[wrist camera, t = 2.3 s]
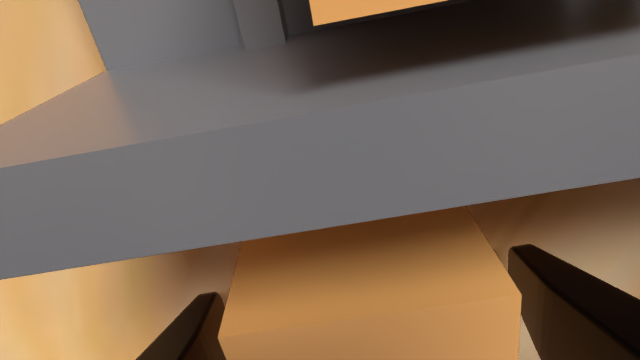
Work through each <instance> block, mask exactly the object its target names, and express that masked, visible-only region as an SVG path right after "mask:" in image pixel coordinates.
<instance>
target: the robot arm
mask: <svg viewBox="0 0 640 360" xmlns="http://www.w3.org/2000/svg"><path fill="white" fill-rule="evenodd" d="M508 274H509V276H510V277H511V279H512V280H513V282H514V283H515V285H516V287H517V288H518V290H519V291H520V293H521V295H522V300H521V316H522V318H523V320H524V323H525V325H526V327H527V330H528V332H529V334H530V337H531V339H532V341H533V344H534V346H535V348H536V350H537V352H538V355H539V357H540V359H541V360H640V299H638V298H636V297H634V296H632V295H630V294H628V293H626V292H624V291H622V290H620V289H618V288H616V287H614V286H612V285H610V284H608V283H606V282H604V281H602V280H601V279H599V278H597V277H595V276H593V275H591V274H589V273H587V272H585V271H583V270H581V269H579V268H577V267H575V266H573V265H571V264H569V263H567V262H565V261H563V260H561V259H559V258H557V257H555V256H553V255H552V254H550V253H548V252H546V251H544V250H542V249H540V248H538V247H536V246H534V245H531V244H526V245H519V246H513V247H511V248H510V250H509V254H508ZM224 310H225V306H224V304H223V301H222V298H221V296H220V295H219V293H217V292H211V293H204V294H200V295H198V296H197V297H196V298H195V299H194V300H193V301H192V302H191V303H190V304H189V305H188V306H187V307H186V308H185V309H184V310H183V311H182V312H181V313H180V314H179V316H178V317H177V318H176V319H175V320H174V321H173V322H172V323H171V324H170V325H169V326H168V327H167V328H166V329H165V330H164V331H163V332H162V333H161V334H160V335H159V336H158V337H157V338H156V339H155V340H154V341H153V342H152V343H151V344H150V345H149V347H148V348H147V349H146V350H145V351H144V352H143V353H142V354H141V355H140V356H139V357H138V358H137V359H136V360H226V357H225V355H224V352H223V350H222V347H221V345H220V342H219V340H218V334H219V330H220V326H221V322H222V318H223V314H224Z"/></svg>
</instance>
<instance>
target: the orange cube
mask: <svg viewBox="0 0 640 360" xmlns="http://www.w3.org/2000/svg"><path fill="white" fill-rule="evenodd" d="M521 300H522V295H521V293H520V291H519V290H518V288H517V287H516V285H515V283H514V282H513V280H512V279H511V277H510V276H509V274H508V272H507V271H506V269H505V268H504V266H503V264H502V263H501V261H500V260H499V258H498V257H497V255H496V253H495V252H494V250H493V249H492V247H491V245H490V244H489V242H488V241H487V239H486V238H485V236H484V234H483V233H482V231H481V230H480V228H479V226H478V225H477V223H476V222H475V220H474V219H473V217H472V215H471V214H470V212H469V211H468V209H467V207H466V206H460V207H453V208H447V209H441V210H435V211H428V212H422V213H416V214H410V215H403V216H397V217H391V218H384V219H378V220H372V221H366V222H359V223H353V224H347V225H340V226H334V227H328V228H322V229H315V230H309V231H303V232H297V233H290V234H284V235H278V236H271V237H265V238H259V239H253V240H246V241H242V244H241V248H240V252H239V255H238V259H237V263H236V267H235V271H234V275H233V279H232V283H231V287H230V291H229V295H228V299H227V302H226V306H225V310H224V314H223V318H222V322H221V326H220V330H219V334H218V340H219V342H220V345H221V347H222V350H223V352H224V355H225V357H226V360H518V350H519V333H520V316H521Z"/></svg>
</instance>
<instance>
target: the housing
mask: <svg viewBox="0 0 640 360" xmlns="http://www.w3.org/2000/svg"><path fill="white" fill-rule="evenodd" d="M78 1H79V3H80V6H81V8H82V11H83V13H84V16H85V18H86V21H87V23H88V25H89V28H90V30H91V33H92V35H93V38H94V40H95V43H96V45H97V48H98V50H99V52H100V55H101V57H102V60H103V62H104V65H105V67H106V70H107V71H105V72H103V73H101V74H99V75H97V76H95V77H93V78H91V79H89V80H87V81H85V82H83V83H81V84H79V85H77V86H75V87H73V88H72V89H70V90H68V91H66V92H64V93H62V94H60V95H58V96H56V97H54V98H52V99H50V100H48V101H46V102H44V103H42V104H40V105H38V106H36V107H34V108H33V109H31V110H29V111H27V112H25V113H23V114H21V115H19V116H17V117H15V118H13V119H11V120H9V121H7V122H5V123H3V124H1V125H0V280H1V279H8V278H14V277H20V276H27V275H33V274H39V273H45V272H52V271H58V270H64V269H70V268H77V267H83V266H89V265H96V264H102V263H108V262H114V261H121V260H127V259H133V258H140V257H146V256H152V255H158V254H165V253H171V252H177V251H184V250H190V249H196V248H202V247H209V246H215V245H221V244H227V243H234V242H240V241H246V240H253V239H259V238H265V237H271V236H278V235H284V234H290V233H297V232H303V231H309V230H315V229H322V228H328V227H334V226H340V225H347V224H353V223H359V222H366V221H372V220H378V219H384V218H391V217H397V216H403V215H410V214H416V213H422V212H428V211H435V210H441V209H447V208H453V207H460V206H466V205H472V204H479V203H485V202H491V201H497V200H504V199H510V198H516V197H523V196H529V195H535V194H541V193H548V192H554V191H560V190H566V189H573V188H579V187H585V186H592V185H598V184H604V183H610V182H617V181H623V180H629V179H636V178H640V0H447V1H441V2H436V3H431V4H426V5H420V6H415V7H410V8H405V9H400V10H394V11H389V12H384V13H379V14H373V15H368V16H363V17H358V18H353V19H347V20H342V21H337V22H332V23H326V24H321V25H316V26H314V25H313V19H312V14H311V8H310V2H309V0H78Z"/></svg>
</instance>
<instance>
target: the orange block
mask: <svg viewBox="0 0 640 360" xmlns="http://www.w3.org/2000/svg"><path fill="white" fill-rule="evenodd" d="M441 1H447V0H309V2H310V8H311V14H312V19H313V25H314V26H316V25H321V24H326V23H332V22H337V21H342V20H347V19H353V18H358V17H363V16H368V15H373V14H379V13H384V12H389V11H394V10H400V9H405V8H410V7H415V6H420V5H426V4H431V3H436V2H441Z"/></svg>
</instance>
